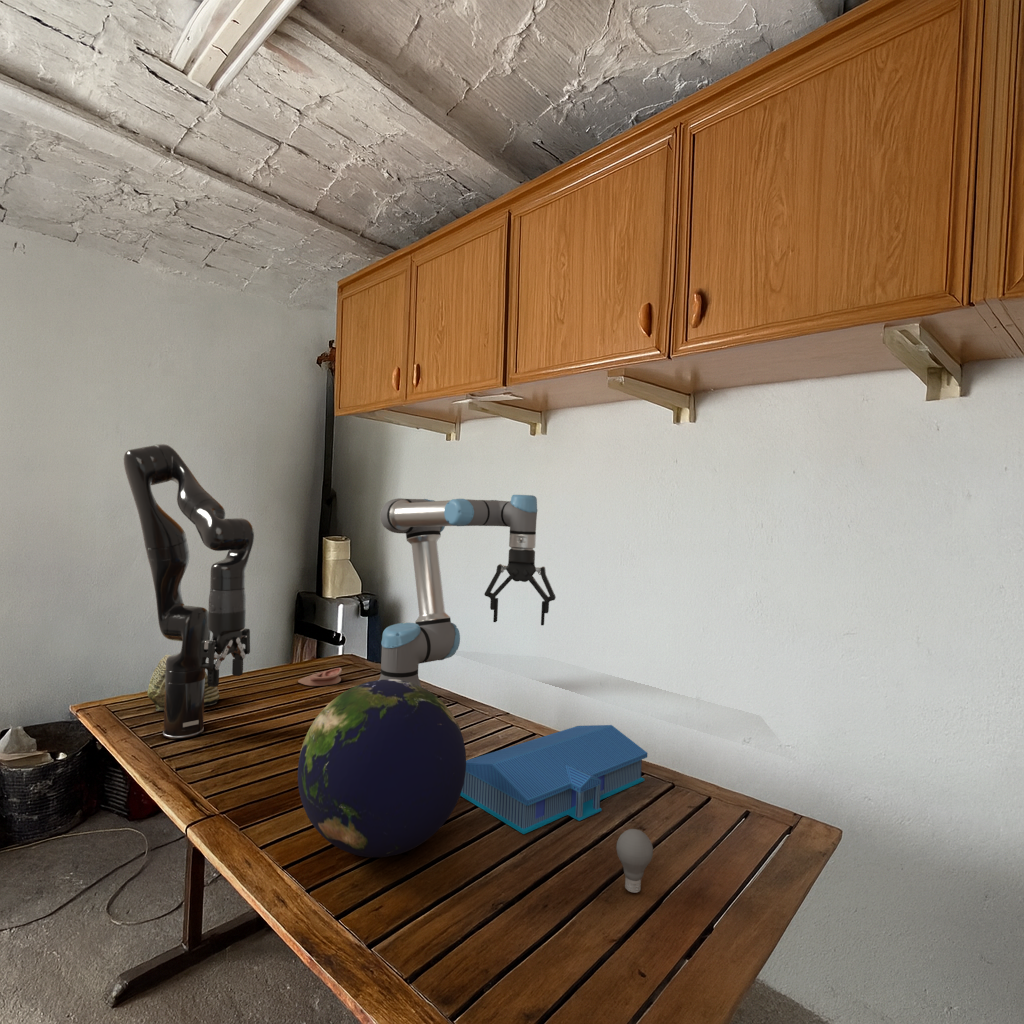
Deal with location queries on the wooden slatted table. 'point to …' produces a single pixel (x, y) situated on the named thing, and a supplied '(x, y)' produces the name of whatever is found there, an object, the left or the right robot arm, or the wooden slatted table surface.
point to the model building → (553, 776)
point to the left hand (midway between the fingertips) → (225, 680)
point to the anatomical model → (322, 678)
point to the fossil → (158, 687)
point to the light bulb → (634, 857)
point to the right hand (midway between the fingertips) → (518, 623)
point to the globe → (381, 768)
